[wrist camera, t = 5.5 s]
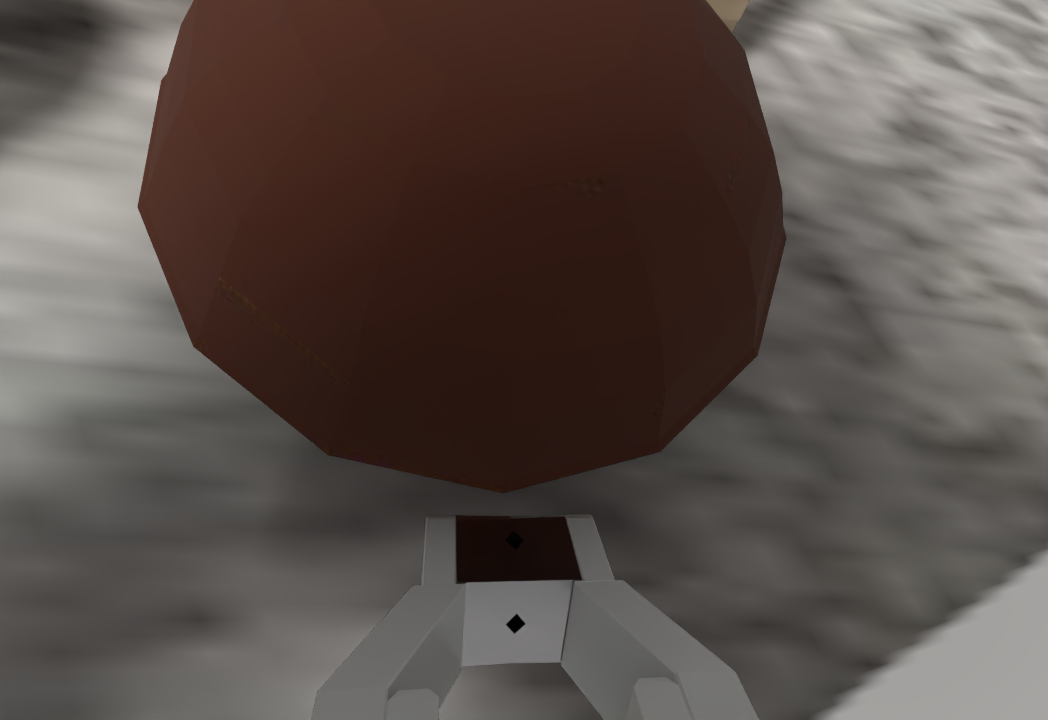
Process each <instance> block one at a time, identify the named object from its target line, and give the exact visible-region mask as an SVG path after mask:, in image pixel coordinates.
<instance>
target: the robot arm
mask: <svg viewBox="0 0 1048 720" xmlns="http://www.w3.org/2000/svg"><path fill="white" fill-rule="evenodd" d="M552 662H561V666H562V667H563V668H564V670H565V671H566V672H567V673H568V675H569V676H570V677H571V679H572V680H573V681H574V682H575V684H576V685H577V686H578V688H579V689H580V690H581V691H582V693H583V694H584V695H585V696H586V698H587V699H588V700H589V702H590V703H591V704H592V705H593V707H594V708H595V709H596V711H597V712H598V713H599V714H600V716H601V717H602V718H603V720H759V718H758V716H757V714H756V712H755V710H754V708H753V706H752V704H751V702H750V700H749V698H748V696H747V694H746V692H745V690H744V688H743V686H742V684H741V682H740V680H739V678H738V676H737V674H736V672H735V671H734V670H733V669H732V668H730V667H729V666H728V665H727V664H725V663H724V662H723V661H722V660H721V659H719V658H718V657H717V656H716V655H714V654H713V653H712V652H711V651H709V650H708V649H707V648H706V647H705V646H703V645H702V644H701V643H700V642H698V641H697V640H696V639H695V638H693V637H692V636H691V635H690V634H689V633H687V632H686V631H685V630H684V629H682V628H681V627H680V626H679V625H678V624H676V623H675V622H674V621H673V620H671V619H670V618H669V617H668V616H666V615H665V614H664V613H663V612H662V611H660V610H659V609H658V608H657V607H655V606H654V605H653V604H652V603H650V602H649V601H648V600H647V599H646V598H644V597H643V596H642V595H641V594H639V593H638V592H637V591H636V590H635V589H633V588H632V587H631V586H630V585H628V584H627V583H626V582H625V581H623V580H615V579H614V576H613V573H612V570H611V568H610V565H609V562H608V559H607V556H606V553H605V550H604V547H603V545H602V542H601V539H600V536H599V533H598V530H597V527H596V524H595V521H594V519H593V517H592V516H591V515H590V514H575V515H563V516H464V515H456V519H455V516H427V518H426V522H425V537H424V553H423V568H422V584H421V585H413V586H412V587H411V588H410V589H409V590H408V591H407V592H406V593H405V594H404V596H403V597H402V598H401V599H400V600H399V601H398V602H397V603H396V605H395V606H394V607H393V608H392V609H391V610H390V611H389V612H388V613H387V615H386V616H385V617H384V618H383V619H382V620H381V621H380V622H379V623H378V625H377V626H376V627H375V628H374V629H373V630H372V631H371V632H370V633H369V635H368V636H367V637H366V638H365V639H364V640H363V641H362V642H361V643H360V645H359V646H358V647H357V648H356V649H355V650H354V651H353V652H352V653H351V655H350V656H349V657H348V658H347V659H346V660H345V661H344V662H343V663H342V665H341V666H340V667H339V668H338V669H337V670H336V671H335V672H334V674H333V675H332V676H331V677H330V678H329V679H328V680H327V681H326V682H325V684H324V685H323V686H322V687H321V688H320V689H319V690H318V692H317V696H316V700H315V704H314V709H313V713H312V717H311V720H439V708H440V706H441V704H442V703H443V701H444V699H445V698H446V696H447V694H448V692H449V691H450V689H451V687H452V685H453V684H454V682H455V680H456V678H457V677H458V675H459V673H460V671H461V667H466V666H479V665H493V664H506V663H552Z"/></svg>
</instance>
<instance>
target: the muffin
mask: <svg viewBox="0 0 1048 720" xmlns="http://www.w3.org/2000/svg"><path fill="white" fill-rule="evenodd" d="M138 209H139V212H140V214H141V217H142V219H143V222H144V224H145V227H146V229H147V232H148V234H149V237H150V239H151V242H152V244H153V247H154V249H155V252H156V254H157V257H158V259H159V262H160V264H161V267H162V269H163V272H164V274H165V277H166V279H167V282H168V284H169V287H170V289H171V292H172V294H173V297H174V299H175V302H176V304H177V307H178V309H179V312H180V314H181V317H182V319H183V322H184V324H185V327H186V329H187V332H188V334H189V337H190V339H191V342H192V344H193V347H195V348H196V349H197V350H198V351H200V352H201V353H202V354H203V355H205V356H206V357H207V358H208V359H210V360H211V361H212V362H213V363H214V364H216V365H217V366H218V367H219V368H221V369H222V370H223V371H224V372H226V373H227V374H228V375H229V376H231V377H232V378H233V379H234V380H236V381H237V382H238V383H239V384H241V385H242V386H243V387H244V388H246V389H247V390H248V391H249V392H250V393H252V394H253V395H254V396H255V397H257V398H258V399H259V400H260V401H262V402H263V403H264V404H265V405H267V406H268V407H269V408H270V409H272V410H273V411H274V412H275V413H277V414H278V415H279V416H280V417H281V418H283V419H284V420H285V421H286V422H288V423H289V424H290V425H291V426H293V427H294V428H295V429H296V430H298V431H299V432H300V433H301V434H303V435H304V436H305V437H306V438H308V439H309V440H310V441H311V442H313V443H314V444H315V445H316V446H317V447H319V448H320V449H321V450H322V451H324V452H325V453H326V454H327V455H330V456H335V457H339V458H344V459H348V460H353V461H358V462H362V463H367V464H371V465H376V466H381V467H385V468H390V469H394V470H399V471H404V472H408V473H413V474H417V475H422V476H427V477H431V478H436V479H440V480H445V481H450V482H454V483H459V484H463V485H468V486H473V487H477V488H482V489H486V490H491V491H496V492H500V493H506V492H509V491H513V490H517V489H521V488H525V487H528V486H532V485H536V484H540V483H544V482H547V481H551V480H555V479H559V478H563V477H566V476H570V475H574V474H578V473H581V472H585V471H589V470H593V469H597V468H600V467H604V466H608V465H612V464H616V463H619V462H623V461H627V460H631V459H635V458H638V457H642V456H646V455H650V454H654V453H657V452H660V451H661V450H662V449H663V448H664V447H665V446H666V445H667V444H668V443H669V442H670V441H671V440H672V439H673V438H674V437H675V436H676V435H677V434H678V433H680V432H681V431H682V430H683V429H684V428H685V427H686V426H687V425H688V424H689V423H690V422H691V421H692V420H693V419H694V418H695V417H696V416H697V415H698V414H699V413H700V412H701V411H702V410H703V409H704V408H705V407H706V406H707V405H708V404H709V403H710V402H711V401H712V400H713V399H714V398H715V397H716V396H717V395H718V394H719V393H720V392H721V391H722V390H723V389H724V388H725V387H726V386H727V385H728V384H729V383H730V382H731V381H732V380H733V379H734V378H735V377H736V376H737V375H738V374H739V373H740V372H741V371H742V370H743V369H744V368H745V367H746V366H747V365H748V364H749V363H750V362H751V361H752V360H753V359H754V358H755V357H756V356H757V355H758V351H759V347H760V343H761V339H762V335H763V331H764V327H765V323H766V319H767V315H768V311H769V307H770V303H771V299H772V294H773V290H774V286H775V282H776V278H777V274H778V270H779V266H780V262H781V258H782V254H783V250H784V246H785V242H786V235H785V231H784V227H783V206H782V190H781V185H780V180H779V175H778V171H777V166H776V161H775V156H774V152H773V148H772V145H771V141H770V138H769V134H768V131H767V127H766V124H765V120H764V117H763V113H762V110H761V106H760V103H759V99H758V96H757V92H756V89H755V85H754V82H753V79H752V75H751V72H750V68H749V65H748V61H747V58H746V54H745V51H744V49H743V48H742V47H741V45H740V44H739V42H738V41H737V40H736V38H735V37H734V35H733V34H732V33H731V31H730V30H729V29H728V27H727V26H726V25H725V23H724V22H723V21H722V20H721V18H720V17H719V16H718V15H717V13H716V12H715V11H714V10H713V8H712V7H711V6H710V5H709V3H708V2H707V1H706V0H194V1H193V3H192V5H191V7H190V9H189V11H188V12H187V14H186V16H185V18H184V20H183V22H182V24H181V27H180V30H179V34H178V37H177V41H176V44H175V48H174V51H173V55H172V58H171V62H170V65H169V68H168V72H167V74H166V75H165V76H164V78H163V79H162V80H161V85H160V91H159V96H158V101H157V107H156V112H155V117H154V123H153V128H152V133H151V138H150V144H149V149H148V154H147V160H146V165H145V170H144V176H143V181H142V186H141V192H140V197H139V202H138Z"/></svg>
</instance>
